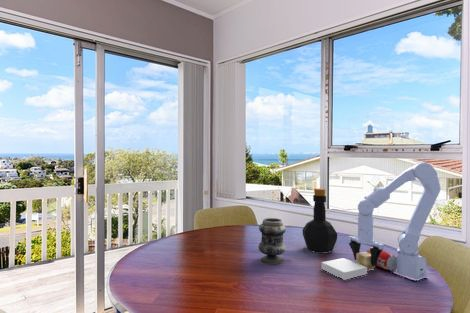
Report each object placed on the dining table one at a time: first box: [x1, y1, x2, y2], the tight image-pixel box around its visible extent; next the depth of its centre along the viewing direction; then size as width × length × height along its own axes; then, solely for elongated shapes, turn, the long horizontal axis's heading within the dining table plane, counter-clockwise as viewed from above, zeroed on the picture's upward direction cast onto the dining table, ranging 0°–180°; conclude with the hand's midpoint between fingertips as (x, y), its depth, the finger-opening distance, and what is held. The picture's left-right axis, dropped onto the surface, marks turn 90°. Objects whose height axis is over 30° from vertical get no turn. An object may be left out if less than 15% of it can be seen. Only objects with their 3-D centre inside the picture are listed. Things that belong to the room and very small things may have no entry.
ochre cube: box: [355, 251, 376, 270], centre depth 123 cm, size 5×5×6 cm
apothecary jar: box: [257, 217, 287, 265], centre depth 132 cm, size 12×12×18 cm
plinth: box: [321, 257, 368, 281], centre depth 119 cm, size 12×12×3 cm
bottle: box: [302, 188, 338, 253], centre depth 148 cm, size 16×16×30 cm
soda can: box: [366, 246, 397, 272], centre depth 124 cm, size 7×7×12 cm
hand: (365, 262), depth 123 cm, fingers open, 7 cm apart
